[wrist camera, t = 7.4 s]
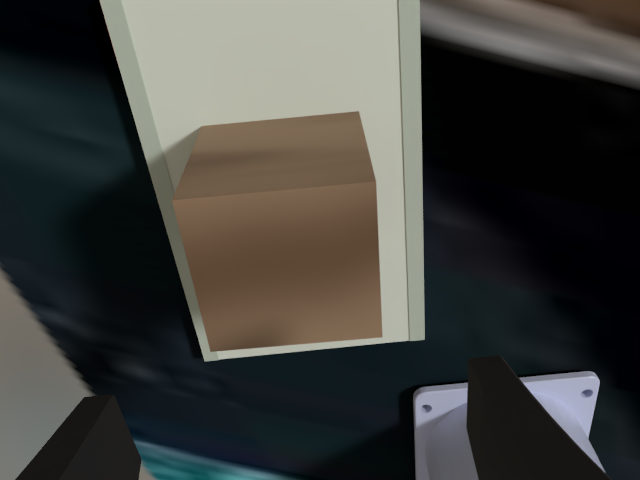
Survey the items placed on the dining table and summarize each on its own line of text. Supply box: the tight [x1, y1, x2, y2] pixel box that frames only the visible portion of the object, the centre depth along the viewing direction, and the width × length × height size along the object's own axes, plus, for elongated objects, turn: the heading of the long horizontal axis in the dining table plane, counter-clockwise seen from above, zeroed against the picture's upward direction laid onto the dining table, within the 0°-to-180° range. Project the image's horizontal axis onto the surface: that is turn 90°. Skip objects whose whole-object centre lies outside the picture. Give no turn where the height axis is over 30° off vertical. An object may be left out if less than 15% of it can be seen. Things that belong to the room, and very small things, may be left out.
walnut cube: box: [172, 111, 383, 352], centre depth 18 cm, size 5×5×5 cm
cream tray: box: [100, 0, 425, 361], centre depth 20 cm, size 14×9×1 cm, turn 6°
